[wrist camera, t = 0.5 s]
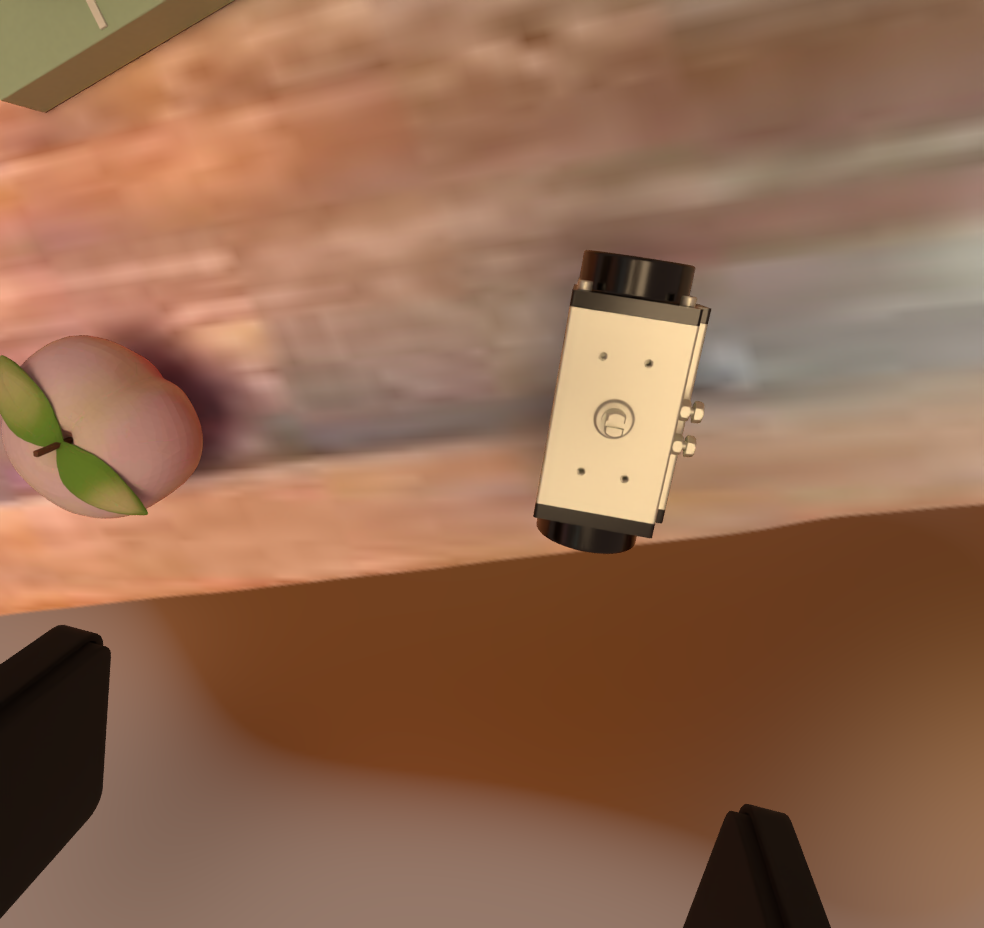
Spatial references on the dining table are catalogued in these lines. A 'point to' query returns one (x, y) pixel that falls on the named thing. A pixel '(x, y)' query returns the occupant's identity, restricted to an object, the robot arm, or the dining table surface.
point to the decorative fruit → (97, 427)
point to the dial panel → (81, 42)
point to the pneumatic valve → (620, 402)
